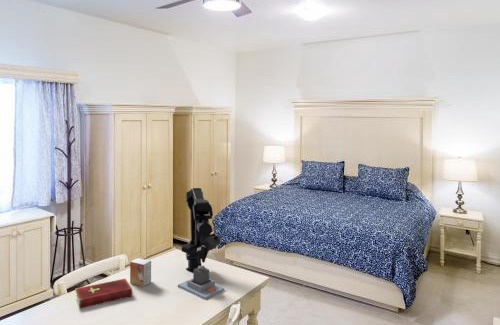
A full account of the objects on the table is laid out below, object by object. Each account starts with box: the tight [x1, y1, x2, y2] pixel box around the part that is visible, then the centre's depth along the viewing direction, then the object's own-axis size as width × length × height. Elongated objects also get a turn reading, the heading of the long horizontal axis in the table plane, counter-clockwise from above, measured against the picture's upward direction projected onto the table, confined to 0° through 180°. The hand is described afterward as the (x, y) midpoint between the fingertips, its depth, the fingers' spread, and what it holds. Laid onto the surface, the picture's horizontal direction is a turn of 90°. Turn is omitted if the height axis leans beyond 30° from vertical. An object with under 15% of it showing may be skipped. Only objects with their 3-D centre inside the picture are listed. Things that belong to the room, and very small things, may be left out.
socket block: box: [177, 278, 225, 300], centre depth 170 cm, size 18×12×4 cm, turn 50°
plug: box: [192, 265, 210, 286], centre depth 169 cm, size 5×5×9 cm
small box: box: [129, 257, 152, 287], centre depth 174 cm, size 8×6×10 cm
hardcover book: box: [74, 278, 133, 309], centre depth 160 cm, size 12×21×4 cm, turn 122°
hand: (201, 263), depth 169 cm, fingers open, 2 cm apart
